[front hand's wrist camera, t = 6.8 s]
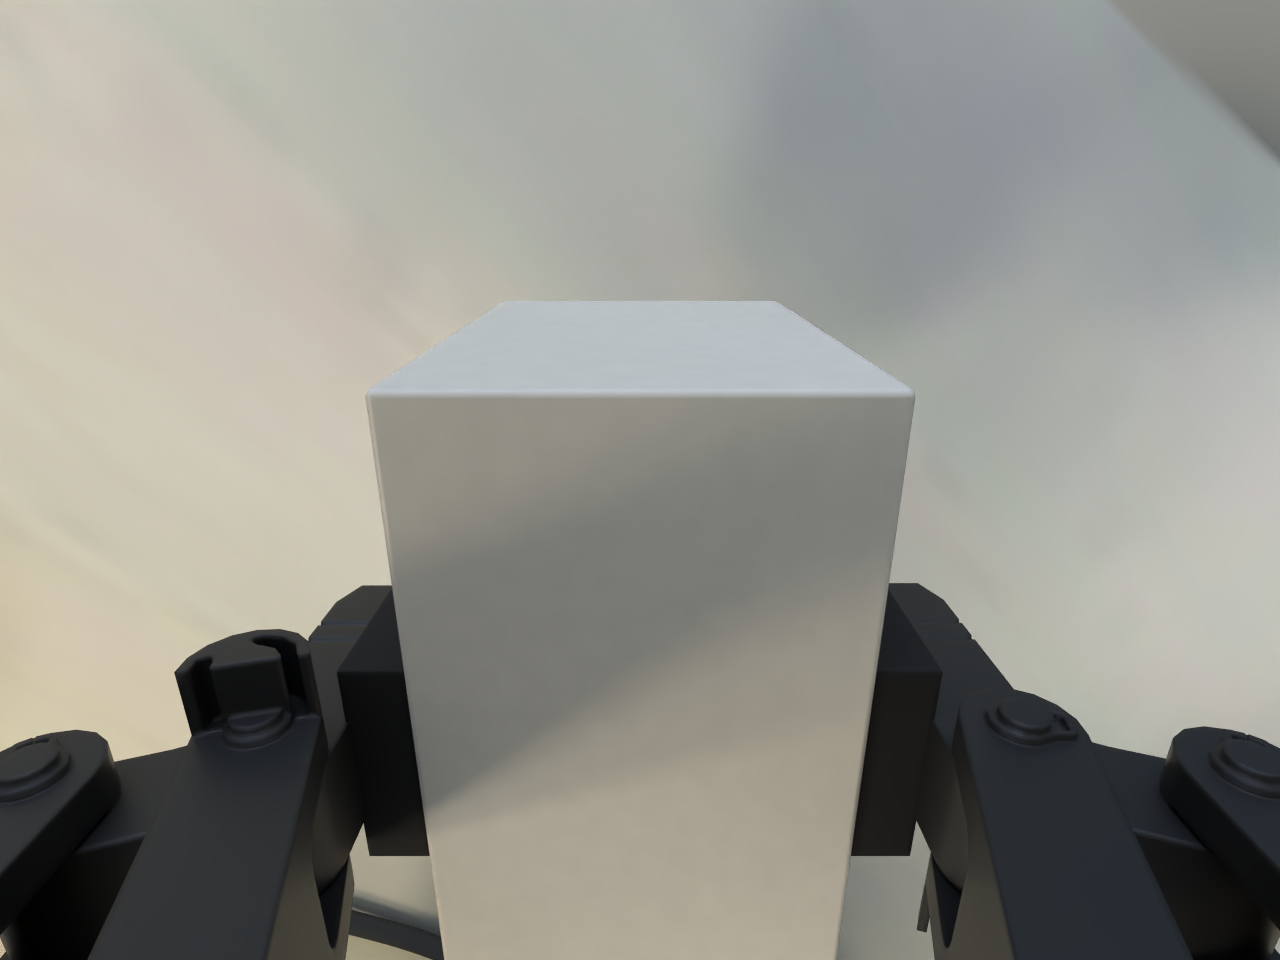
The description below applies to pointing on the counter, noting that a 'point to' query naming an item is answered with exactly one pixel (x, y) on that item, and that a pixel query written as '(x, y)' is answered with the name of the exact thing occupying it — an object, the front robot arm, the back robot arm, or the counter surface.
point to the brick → (640, 622)
